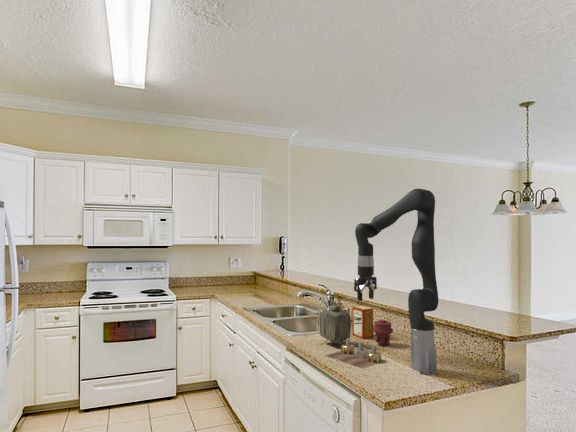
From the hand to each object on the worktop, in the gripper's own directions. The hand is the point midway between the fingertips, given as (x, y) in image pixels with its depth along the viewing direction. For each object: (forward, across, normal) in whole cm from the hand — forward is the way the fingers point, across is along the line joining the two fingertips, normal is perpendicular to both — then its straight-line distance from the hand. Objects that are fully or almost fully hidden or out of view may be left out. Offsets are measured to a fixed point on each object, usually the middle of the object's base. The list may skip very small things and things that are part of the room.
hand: (365, 299), depth 185 cm
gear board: (+25, +12, +3) cm, 28 cm away
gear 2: (+24, +8, +11) cm, 28 cm away
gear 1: (+24, +8, -4) cm, 26 cm away
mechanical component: (+25, -18, -3) cm, 31 cm away
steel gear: (+24, +8, +3) cm, 26 cm away
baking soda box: (+25, -23, -20) cm, 40 cm away
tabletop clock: (+25, +4, -16) cm, 30 cm away
